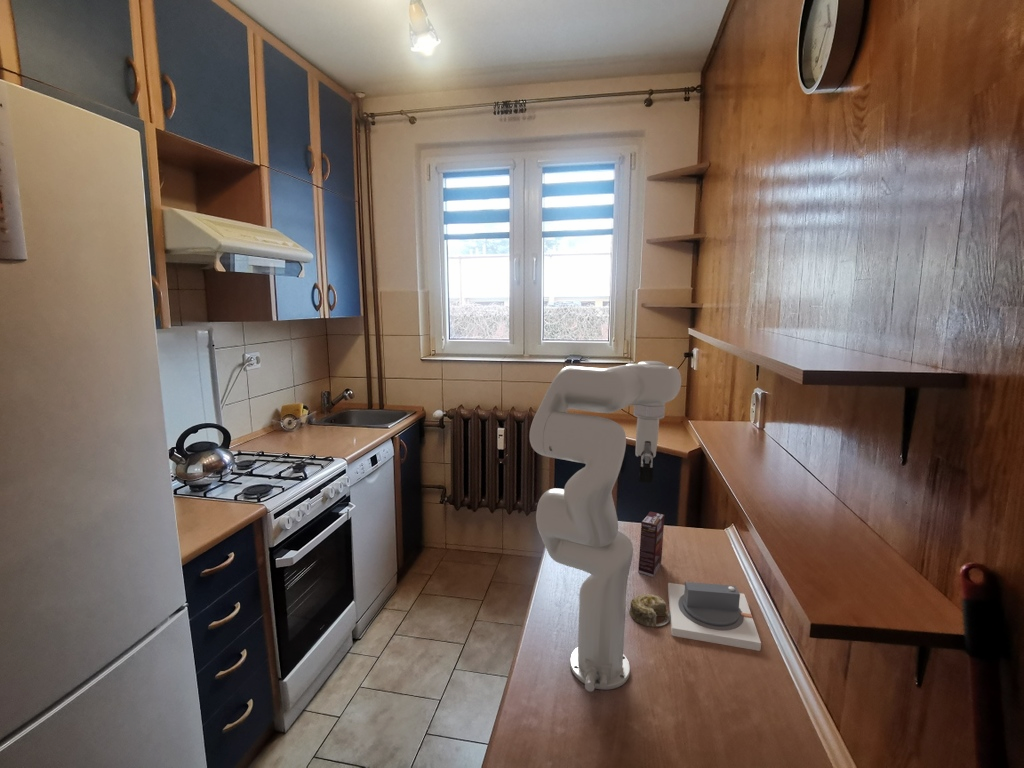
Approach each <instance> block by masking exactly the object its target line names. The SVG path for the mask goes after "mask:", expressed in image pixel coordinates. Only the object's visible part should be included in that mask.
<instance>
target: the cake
mask: <svg viewBox="0 0 1024 768" xmlns="http://www.w3.org/2000/svg"><path fill="white" fill-rule="evenodd" d="M629 616H630V618H631V619H632V620H633V621H634V622H636V623H638V624H640V625H643V626H645V627H651V628H655V627H656V628H657V627H663V626H665V625H667V624H668V623H669V622H670V612H668V607H667V603H666V601H665V600H664V599H663V598H662V597H660V595H655V594H650V593H644V594H639V595H637V596H634V597H633V599H631V601H630V608H629ZM660 616H661V617H664V620H662V621H661V622H659V623H657V617H660Z"/></svg>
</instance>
